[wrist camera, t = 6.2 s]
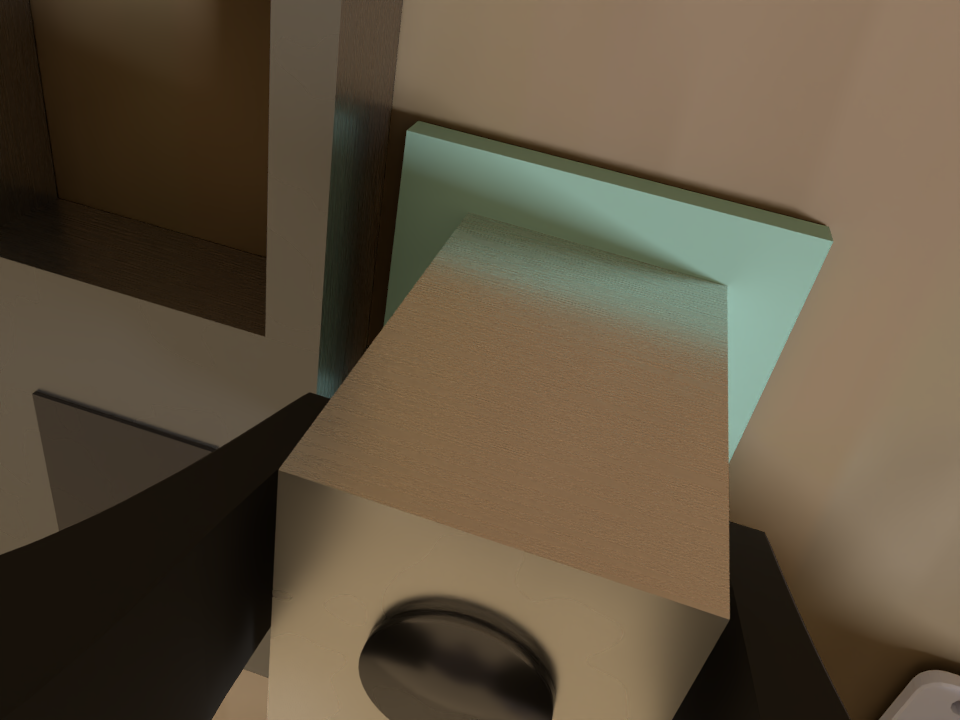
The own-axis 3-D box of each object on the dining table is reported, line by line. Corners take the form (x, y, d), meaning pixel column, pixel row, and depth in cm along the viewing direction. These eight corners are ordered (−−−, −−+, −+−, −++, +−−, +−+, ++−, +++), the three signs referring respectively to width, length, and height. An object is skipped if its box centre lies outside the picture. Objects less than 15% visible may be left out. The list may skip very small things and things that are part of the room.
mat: (828, 226, 13) (832, 241, 12) (690, 527, 17) (689, 547, 16) (418, 120, 13) (406, 130, 13) (379, 430, 17) (369, 447, 17)
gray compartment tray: (444, -398, 10) (367, -470, 8) (339, 608, 21) (295, 692, 19) (-105, -493, 11) (-308, -580, 9) (73, 518, 22) (4, 587, 20)
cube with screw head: (727, 285, 13) (729, 637, 7) (645, 481, 15) (598, 860, 10) (468, 212, 13) (269, 483, 8) (430, 414, 16) (259, 733, 10)
